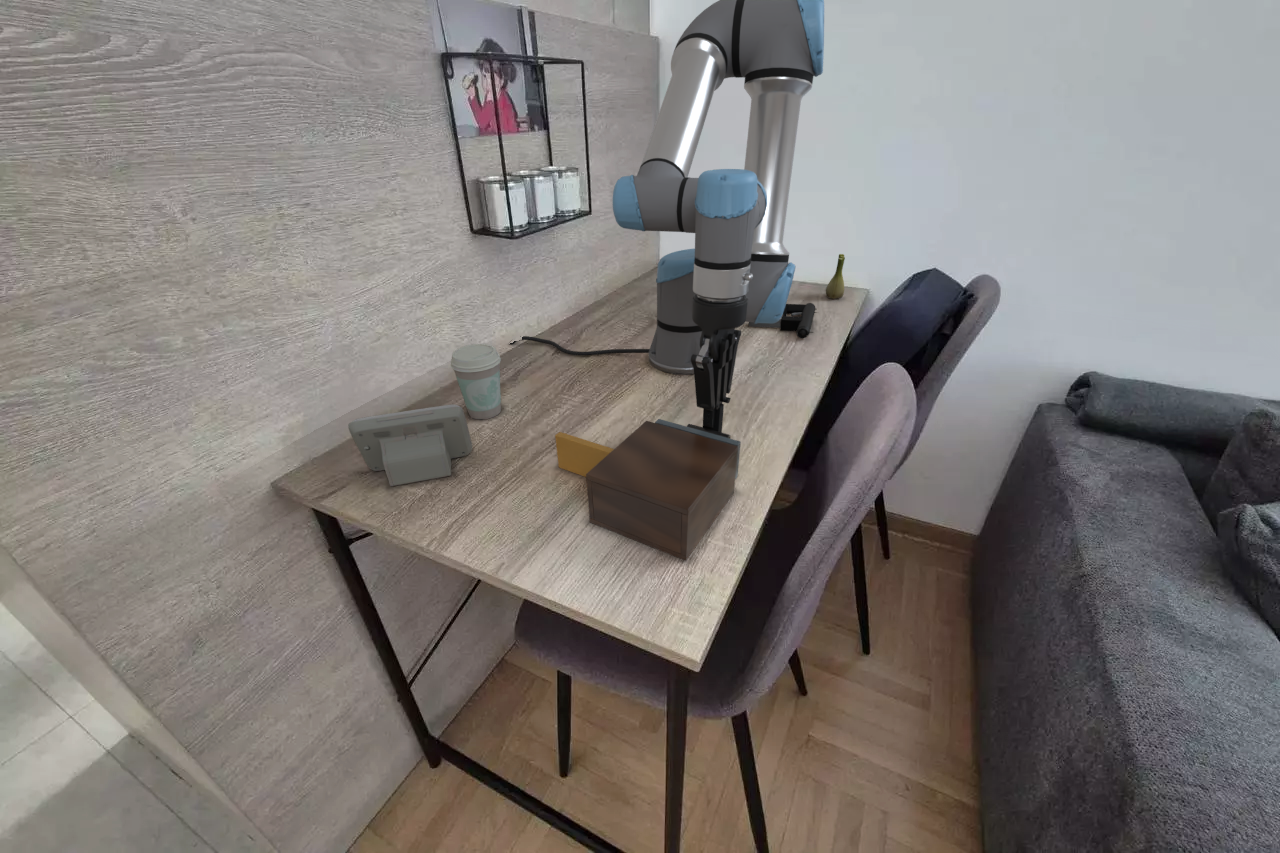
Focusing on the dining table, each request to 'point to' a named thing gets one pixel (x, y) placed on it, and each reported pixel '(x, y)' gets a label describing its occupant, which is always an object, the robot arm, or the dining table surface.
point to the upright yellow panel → (579, 453)
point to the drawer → (705, 435)
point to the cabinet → (662, 487)
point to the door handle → (794, 319)
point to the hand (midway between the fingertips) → (711, 439)
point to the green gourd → (836, 281)
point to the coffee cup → (478, 379)
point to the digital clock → (413, 442)
